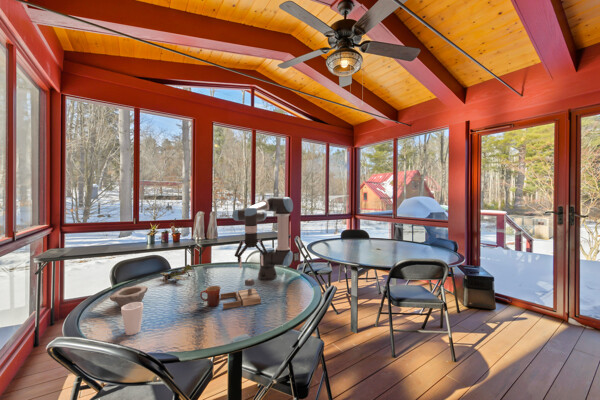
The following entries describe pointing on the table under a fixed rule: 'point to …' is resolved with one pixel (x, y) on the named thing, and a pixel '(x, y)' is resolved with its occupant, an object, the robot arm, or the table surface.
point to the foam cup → (132, 317)
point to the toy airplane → (177, 274)
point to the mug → (212, 295)
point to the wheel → (249, 282)
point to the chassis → (241, 298)
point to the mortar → (129, 295)
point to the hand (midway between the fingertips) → (251, 266)
